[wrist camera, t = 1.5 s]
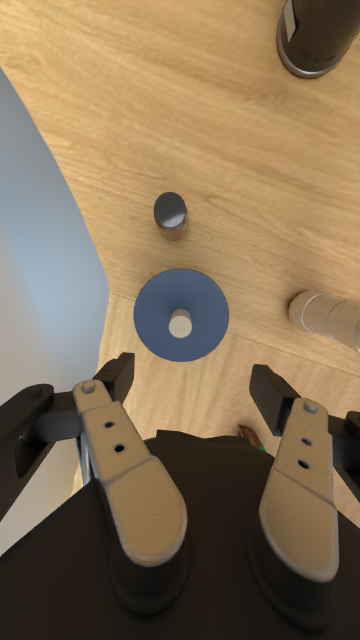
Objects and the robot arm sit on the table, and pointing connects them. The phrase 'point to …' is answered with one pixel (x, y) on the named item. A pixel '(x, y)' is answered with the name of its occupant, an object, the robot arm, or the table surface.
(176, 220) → the spice bottle
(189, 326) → the lid
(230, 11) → the table surface
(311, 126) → the table surface
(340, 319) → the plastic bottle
